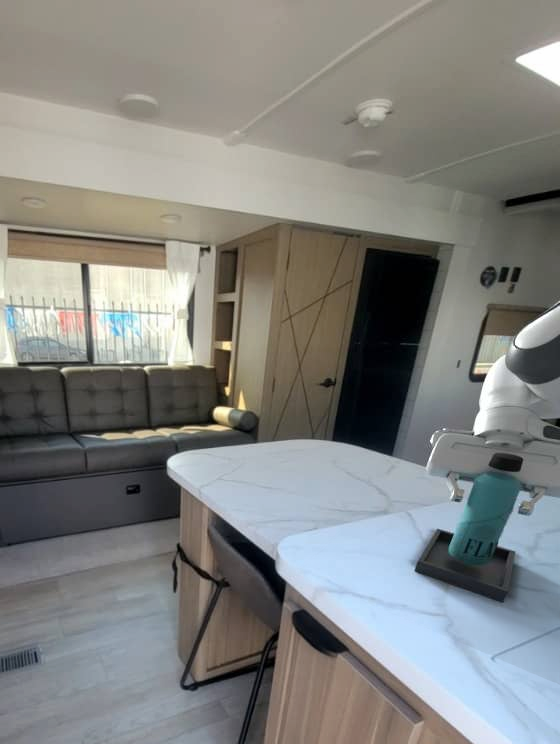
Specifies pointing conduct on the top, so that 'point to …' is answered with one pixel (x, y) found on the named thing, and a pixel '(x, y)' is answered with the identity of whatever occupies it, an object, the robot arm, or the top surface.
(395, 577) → the top surface
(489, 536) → the beverage bottle
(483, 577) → the tray
